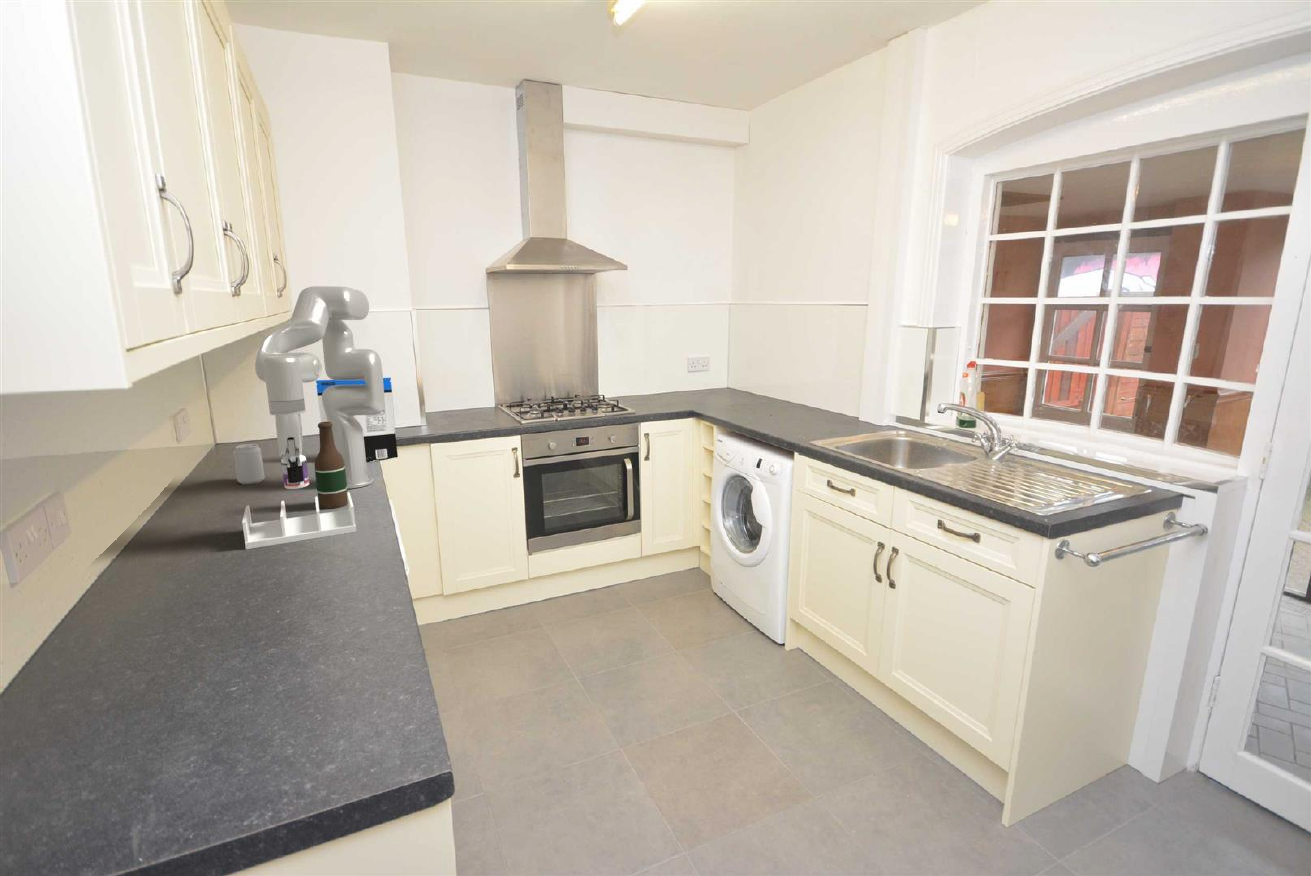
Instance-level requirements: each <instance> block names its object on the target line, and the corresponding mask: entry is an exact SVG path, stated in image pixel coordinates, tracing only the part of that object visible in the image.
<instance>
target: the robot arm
mask: <svg viewBox="0 0 1311 876" xmlns="http://www.w3.org/2000/svg"><path fill="white" fill-rule="evenodd" d="M293 309H294V310H293V311H292V314H291V317H290V321H289V322H287V323H285V324H283V325H282V326H280V327H278V328H277V329H275V330H274V331H273V332H271V333H269V334H268V335H267V336H266V337H265V338H264V339H263V341H262V342H261V345H260V346H259V349H258V352H257V354H256V358H255V362H254V369H255V370H254V371H255V374H256V376H257V378H258V380H260V381H261V382H263V383H265V386H266V387H265V389H266V394H267V395H266V396H267V400H268V410H269V415H270V416H275V420H274V421H275V430H276V432H275V433H276V437H277V446H278V454H279V456H280V457H284V454H285V452H286V457H287V465H288V467H287V474H288V482H289V483H296V482H303V481H304V479H303V470H302V465H301V464H300V454H301V455H302V454H303V446H304V445H303V427H302V417H301V414H304V413H306V403H305V397H304V396H305V395H304V386H303V384H304V383H305V384H306V383H312V382H316V380H318V379H319V377H320V376H321V375H322V370H323V366H322V363H321V361H320V358H318V356H317V355H315V354H313V353H311V352H291V351H294V350H298V349H301V348H304V347H305V348H306V347H307V346H310V345H314V344H316V343H318V342H319V341H321V342H322V353H323V363H324V369H325V374H326V376H327V377H328V378H329V380H364V381H365V382H366V385H335V386H331V387H328V388H326V389H325V390H324V391H323V393H322V403H323V407H324V410H325V413H326V417H327V421H328V422H332V425H333V426H332V431H333V437H334V442H335V446H336V449H337V451H338V452H339V453H340V454H341V455H342V457H343V459H344V463H345V470H346V479H347V488H348V490H349V489H351V490H352V489H357V488H362V487H366V486H369V485H371V484H373V483H374V477H372V476H370V475H368V467H367V466H368V465H367V463H366V455H365V446H364V436H363V429H362V426H361V425H360V423H359V422H358V421H357V420H356V419H355V418H354V417H353V416H356V415H376V414H380V413H381V412H382V411H383V409H384V404H385V400H384V386H383V378H384V377H383V376H384V375H383V365H382V360H381V358H380V357H381V356H380V354H378V352H377V351H376V350H373V349H371V348H370V349H368V348H367V349H365V348H361V349H360V348H359V349H358V348H355V346H354V335H353V332H352V330H351V328H350V327H349V325H347V324H346V323H345V321H361V320H364V319H366V318H367V316H368V314H369V311H370V304H369V300H368V298H367V296H366V294H365V293H364V292H363V291H361V290H358V289H354V288H352V287H347V286H323V285H322V286H321V285H319V286H318V285H317V286H308V287H305V288H304V289H302V290H301V291H300V293H299V295H298V297H297V299H296V303H295V306H294V308H293ZM295 451H297V453H295ZM288 452H289V454H288ZM299 453H300V454H299ZM296 456H297V457H296ZM289 457H290V458H289Z"/></svg>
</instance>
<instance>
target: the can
mask: <svg viewBox="0 0 1311 876" xmlns="http://www.w3.org/2000/svg"><path fill="white" fill-rule="evenodd" d="M232 454H233V461H234V468H235V469H234V470H235V474H236V475H235V476H236V481H237V482H238V483H240V484H241V485H254V484H258V483H261V482H262V481H263V480H264V479H265V471H264V464H263V456H262V449H261V448H260V447H259V444H257V443H256V444H255V443H249V444H248V443H247V444H246V443H245V444H241V445H236V446H235V447H234V450H233V452H232Z"/></svg>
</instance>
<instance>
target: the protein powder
mask: <svg viewBox="0 0 1311 876" xmlns="http://www.w3.org/2000/svg"><path fill="white" fill-rule="evenodd" d="M315 384H316V393H317V394H316V395H317V401H318V402H317V403H318V409H319V417H320V422H328V421H327V417H326V413H325V410H324V407H323V403H322V393H323V391H324V390H325V389H326V388H328V387H331V386H335V385H366V382H365V381H364V380H332V379H321V380H318V379H316V380H315ZM383 386H384V400H385V404H384V409H383V411H382V412H381V413H380V414H376V415H356V416H353V417H354V418H355V419H356V420H357V421H358V422H359V423H360V425H361V426H362V429H363V436H364V446H365V455H366V462H367V463H371V462H370V461H373V460H379V461H378V462H380V461H387V460H390V459H395V458H399V454H398V444H397V438H396V436H397V435H396V425H395V411H394V399H393V398H394V397H393V388H392V381H391V377H383Z"/></svg>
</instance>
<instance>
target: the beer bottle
mask: <svg viewBox="0 0 1311 876" xmlns="http://www.w3.org/2000/svg"><path fill="white" fill-rule="evenodd" d="M332 426H333V425H332V422H321V421H320V422H318V424H317V428H318V430H319V433H318V435H319V452H318V454H317V456H316V458H315V461H314V475H315V483H316V493H317V496H318V504H319V509H324V510H330V509H339V508H343V507H346V506H347V505H348V497H347V492H349V489H348V488H347V479H346V470H345V463H344V459H343V457H342V455H341V454H340V453H339V452H338V451H337V449H336V446H335V442H334V437H333V431H332Z"/></svg>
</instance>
